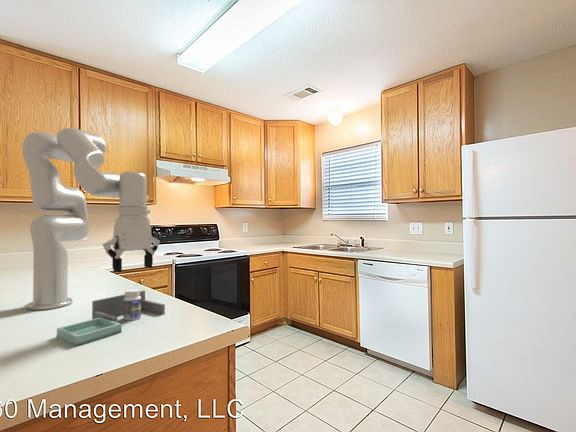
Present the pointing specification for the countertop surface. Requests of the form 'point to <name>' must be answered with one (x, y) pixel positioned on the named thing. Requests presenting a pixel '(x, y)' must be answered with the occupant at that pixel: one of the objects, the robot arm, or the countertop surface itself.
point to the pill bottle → (132, 305)
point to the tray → (88, 331)
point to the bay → (121, 307)
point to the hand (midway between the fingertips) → (133, 269)
